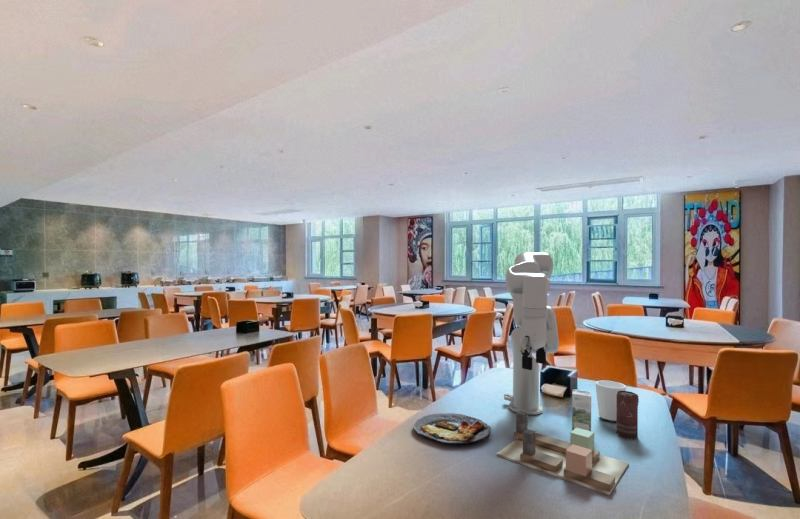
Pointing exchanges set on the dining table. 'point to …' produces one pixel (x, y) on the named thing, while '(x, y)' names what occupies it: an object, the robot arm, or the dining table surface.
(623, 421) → the can
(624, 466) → the board
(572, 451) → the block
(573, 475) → the strip piece
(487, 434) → the food plate
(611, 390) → the cup
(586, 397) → the syrup box
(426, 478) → the dining table surface
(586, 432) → the cube
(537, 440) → the strip
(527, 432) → the strip piece
